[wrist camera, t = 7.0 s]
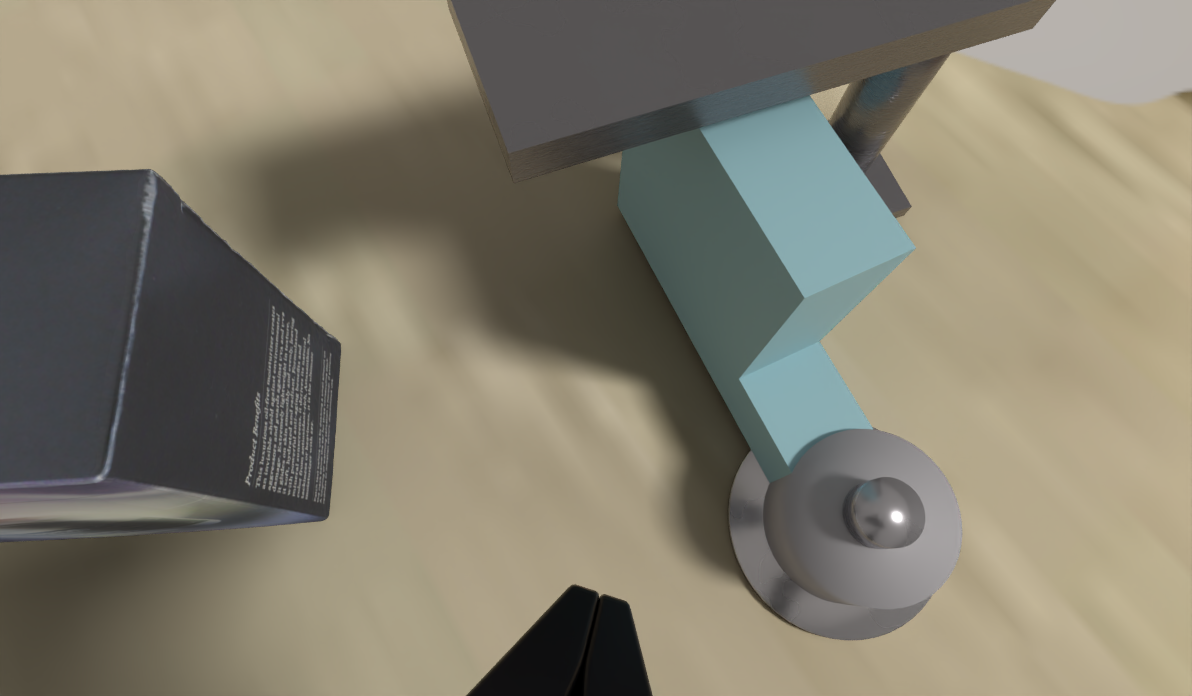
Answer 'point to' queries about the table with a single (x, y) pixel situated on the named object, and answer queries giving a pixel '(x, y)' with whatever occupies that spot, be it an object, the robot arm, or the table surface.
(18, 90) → the table surface
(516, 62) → the keeper
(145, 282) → the small box
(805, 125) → the link
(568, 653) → the robot arm
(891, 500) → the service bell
